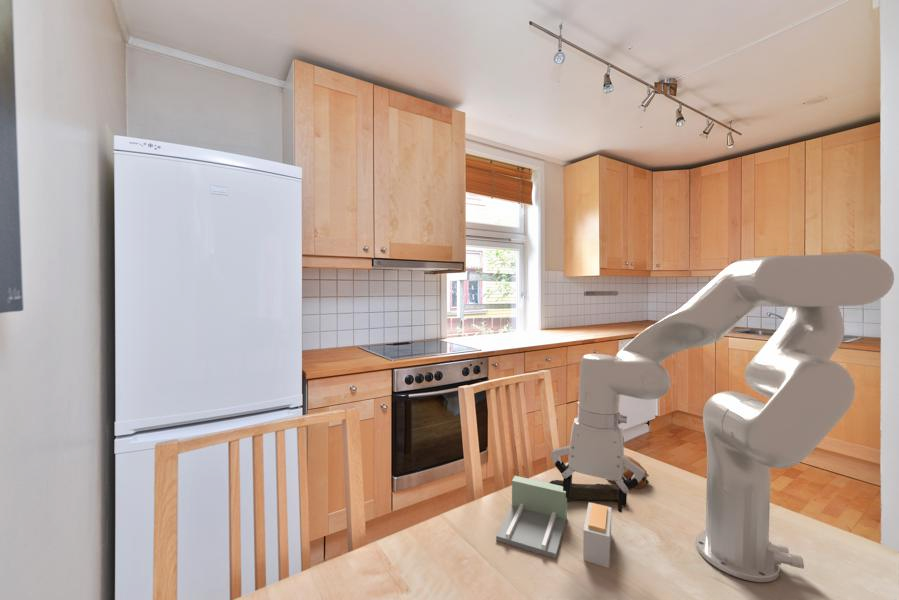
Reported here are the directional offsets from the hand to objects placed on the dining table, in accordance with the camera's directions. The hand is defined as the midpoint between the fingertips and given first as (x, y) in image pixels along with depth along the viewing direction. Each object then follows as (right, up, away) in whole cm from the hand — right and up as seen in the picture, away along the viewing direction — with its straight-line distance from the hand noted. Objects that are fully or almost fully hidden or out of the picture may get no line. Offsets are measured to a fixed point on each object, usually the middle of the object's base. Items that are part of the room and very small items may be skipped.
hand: (593, 501), depth 74 cm
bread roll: (+19, -8, +26) cm, 33 cm away
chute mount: (-11, -9, +6) cm, 15 cm away
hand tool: (+4, -9, +16) cm, 19 cm away
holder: (+1, -9, 0) cm, 9 cm away
